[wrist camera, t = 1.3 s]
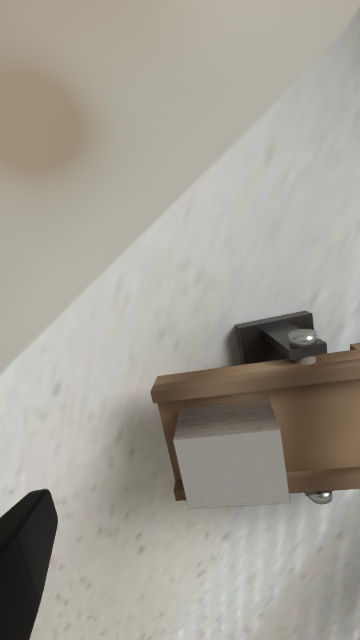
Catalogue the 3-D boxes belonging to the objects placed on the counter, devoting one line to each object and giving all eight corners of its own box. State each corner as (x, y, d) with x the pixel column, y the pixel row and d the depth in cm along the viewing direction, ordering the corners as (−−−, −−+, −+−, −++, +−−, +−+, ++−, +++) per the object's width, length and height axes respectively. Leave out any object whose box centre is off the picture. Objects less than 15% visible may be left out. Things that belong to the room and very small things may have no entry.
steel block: (268, 397, 16) (280, 429, 13) (277, 459, 17) (289, 502, 14) (180, 407, 17) (173, 440, 14) (193, 466, 18) (188, 508, 15)
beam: (437, 316, 18) (516, 341, 13) (438, 433, 19) (508, 492, 15) (162, 356, 20) (147, 388, 16) (184, 456, 22) (176, 512, 17)
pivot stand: (304, 308, 21) (355, 326, 15) (318, 437, 23) (367, 495, 17) (235, 322, 21) (260, 346, 15) (255, 450, 23) (283, 512, 17)
